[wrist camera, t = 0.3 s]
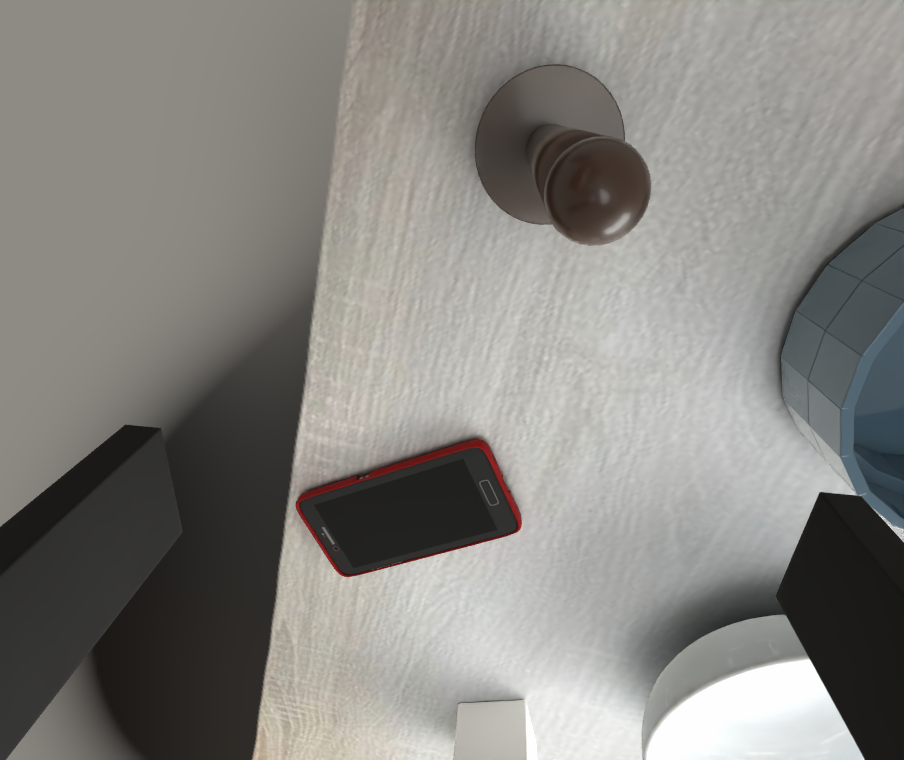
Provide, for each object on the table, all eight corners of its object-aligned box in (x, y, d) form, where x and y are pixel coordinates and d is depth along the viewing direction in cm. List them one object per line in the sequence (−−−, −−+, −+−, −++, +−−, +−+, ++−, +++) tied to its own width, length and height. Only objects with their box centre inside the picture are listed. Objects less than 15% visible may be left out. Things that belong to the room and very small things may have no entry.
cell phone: (525, 522, 39) (526, 532, 38) (344, 571, 43) (340, 580, 42) (484, 433, 36) (484, 441, 35) (294, 493, 40) (289, 502, 39)
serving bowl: (804, 780, 48) (848, 878, 42) (582, 710, 47) (593, 800, 41) (980, 626, 39) (1068, 722, 33) (711, 534, 38) (750, 616, 32)
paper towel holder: (481, 66, 27) (429, -23, 10) (626, 71, 27) (855, -13, 9) (474, 212, 30) (423, 352, 13) (603, 219, 30) (741, 375, 12)
